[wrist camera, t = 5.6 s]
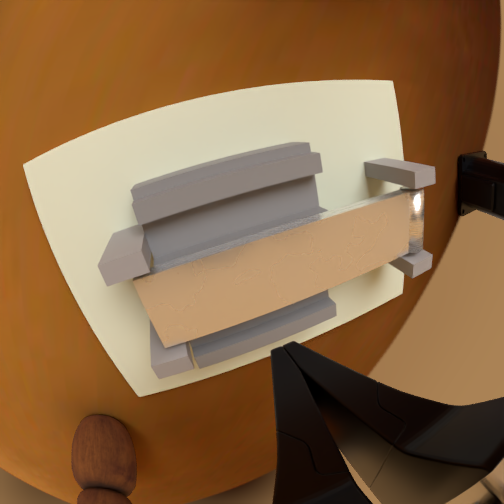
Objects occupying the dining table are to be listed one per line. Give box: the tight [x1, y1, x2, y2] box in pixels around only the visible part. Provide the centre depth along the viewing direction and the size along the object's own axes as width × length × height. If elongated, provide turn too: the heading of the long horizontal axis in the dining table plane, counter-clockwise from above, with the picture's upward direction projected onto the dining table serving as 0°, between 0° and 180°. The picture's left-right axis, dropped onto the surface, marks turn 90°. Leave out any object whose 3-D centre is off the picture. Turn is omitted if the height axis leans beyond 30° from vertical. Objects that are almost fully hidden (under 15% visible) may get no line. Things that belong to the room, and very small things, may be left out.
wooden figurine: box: [72, 415, 137, 504], centre depth 13 cm, size 7×6×15 cm
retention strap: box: [133, 186, 424, 348], centre depth 14 cm, size 17×4×2 cm, turn 102°
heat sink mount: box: [23, 80, 435, 397], centre depth 16 cm, size 24×18×6 cm
